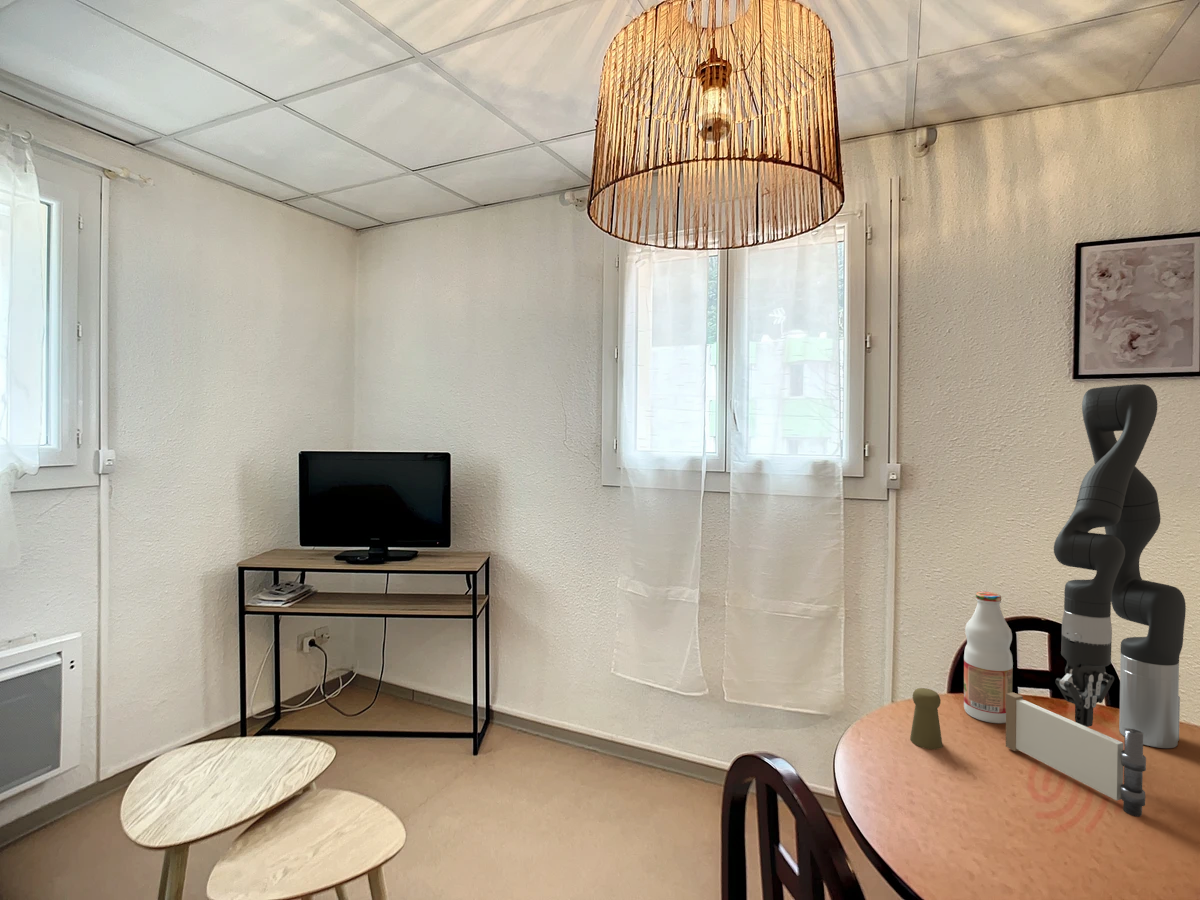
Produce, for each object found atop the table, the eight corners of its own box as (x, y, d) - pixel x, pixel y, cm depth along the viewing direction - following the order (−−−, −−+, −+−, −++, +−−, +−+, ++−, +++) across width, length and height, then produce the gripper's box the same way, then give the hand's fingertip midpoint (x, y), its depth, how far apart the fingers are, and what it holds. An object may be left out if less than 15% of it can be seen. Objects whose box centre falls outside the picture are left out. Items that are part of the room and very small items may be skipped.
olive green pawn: (946, 750, 126) (947, 697, 126) (914, 748, 127) (915, 695, 127) (937, 736, 132) (937, 685, 132) (906, 733, 133) (906, 683, 133)
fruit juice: (981, 725, 136) (982, 600, 136) (954, 706, 146) (955, 589, 145) (1022, 723, 137) (1023, 599, 136) (992, 704, 146) (993, 588, 145)
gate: (1123, 801, 108) (1124, 739, 107) (1115, 803, 107) (1116, 741, 107) (1012, 744, 127) (1013, 692, 127) (1005, 746, 127) (1006, 693, 126)
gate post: (1128, 804, 107) (1129, 726, 107) (1149, 815, 104) (1151, 734, 104) (1115, 808, 106) (1117, 729, 106) (1136, 819, 103) (1138, 737, 103)
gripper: (1090, 626, 124) (1087, 711, 124) (1041, 633, 120) (1039, 720, 120) (1132, 639, 116) (1129, 729, 117) (1081, 645, 113) (1079, 739, 113)
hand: (1083, 724), depth 119 cm, fingers closed
